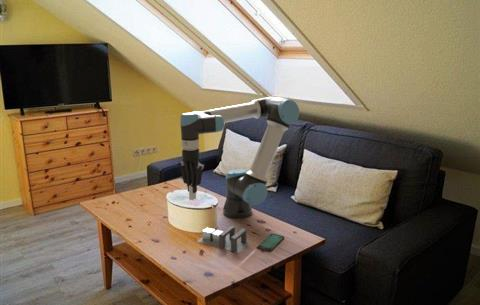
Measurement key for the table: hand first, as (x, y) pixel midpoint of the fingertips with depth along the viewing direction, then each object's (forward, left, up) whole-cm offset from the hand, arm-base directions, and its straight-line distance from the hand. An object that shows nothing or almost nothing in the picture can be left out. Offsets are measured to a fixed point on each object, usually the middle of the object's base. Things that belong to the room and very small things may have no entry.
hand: (192, 198), depth 178 cm
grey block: (0, +11, -18) cm, 21 cm away
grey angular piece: (0, +16, -18) cm, 24 cm away
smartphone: (-11, +34, -19) cm, 40 cm away
